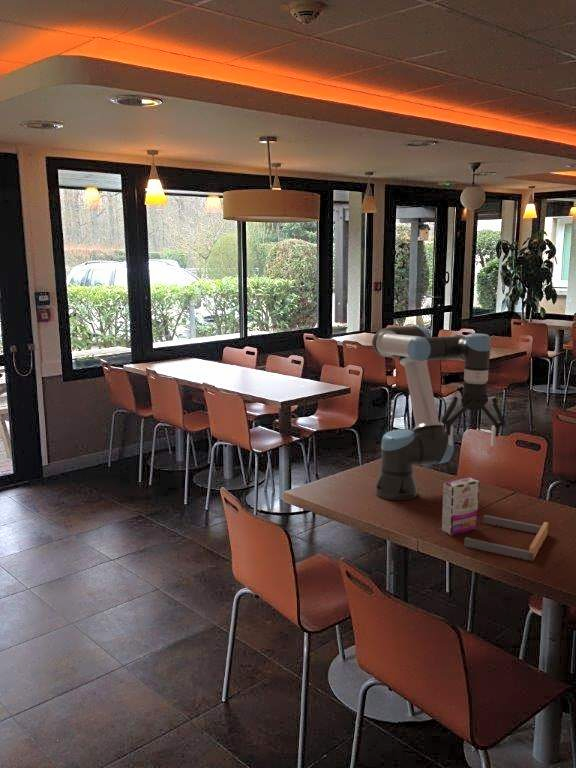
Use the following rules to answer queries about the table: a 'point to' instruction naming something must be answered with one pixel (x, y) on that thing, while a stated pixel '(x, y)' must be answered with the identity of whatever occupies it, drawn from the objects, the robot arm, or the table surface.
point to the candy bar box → (460, 506)
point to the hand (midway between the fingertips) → (471, 445)
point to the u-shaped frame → (507, 550)
